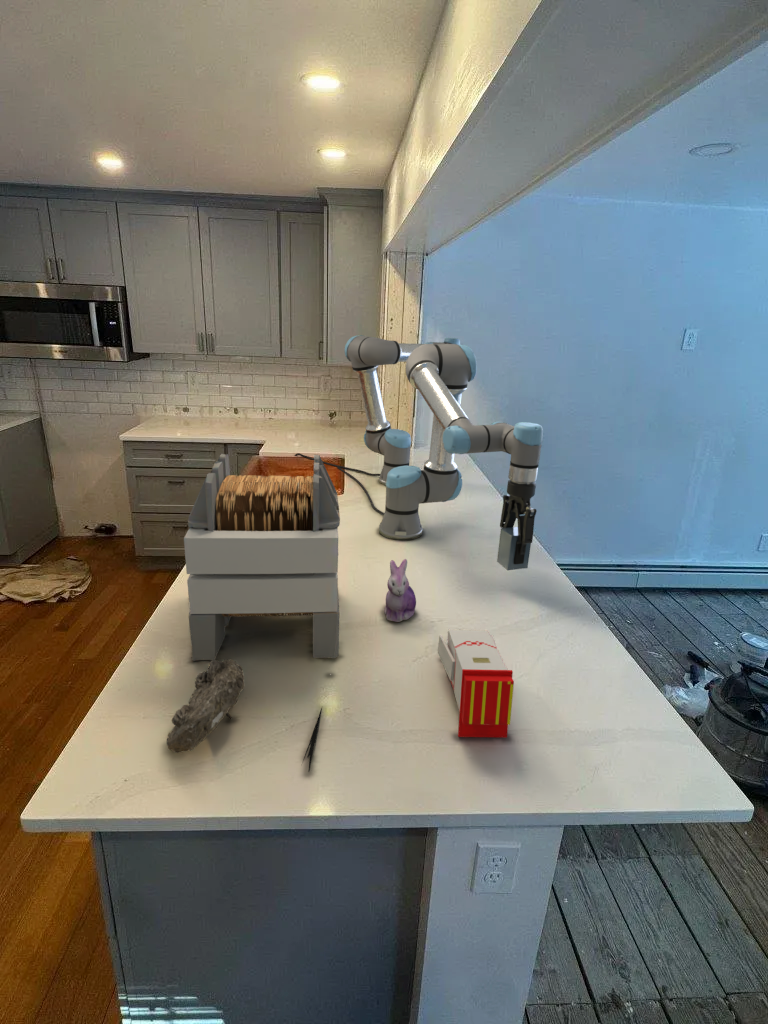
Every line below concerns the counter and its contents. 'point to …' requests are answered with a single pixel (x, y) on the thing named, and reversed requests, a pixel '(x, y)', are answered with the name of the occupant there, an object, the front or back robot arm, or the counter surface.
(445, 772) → the counter surface
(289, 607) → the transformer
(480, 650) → the toy
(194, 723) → the fossil
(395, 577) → the figurine
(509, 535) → the brick
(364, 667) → the counter surface
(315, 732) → the feather
